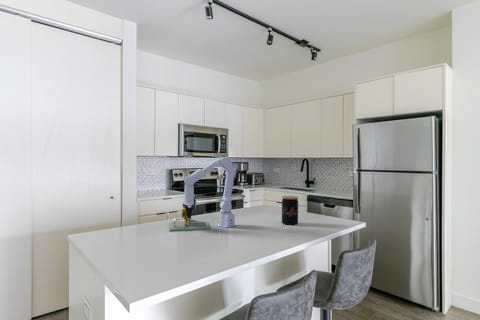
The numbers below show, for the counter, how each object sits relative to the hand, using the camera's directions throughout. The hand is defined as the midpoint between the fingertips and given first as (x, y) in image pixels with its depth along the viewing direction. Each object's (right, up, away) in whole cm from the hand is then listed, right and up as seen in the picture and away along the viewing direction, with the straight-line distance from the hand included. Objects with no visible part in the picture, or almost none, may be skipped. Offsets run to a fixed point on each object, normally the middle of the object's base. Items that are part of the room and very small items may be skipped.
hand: (188, 217), depth 174 cm
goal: (-6, -5, -1) cm, 8 cm away
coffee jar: (+65, -7, +12) cm, 67 cm away
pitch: (0, -6, 0) cm, 6 cm away
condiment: (-4, -6, +16) cm, 18 cm away
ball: (-3, -3, -1) cm, 5 cm away
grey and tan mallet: (0, -5, 0) cm, 5 cm away
